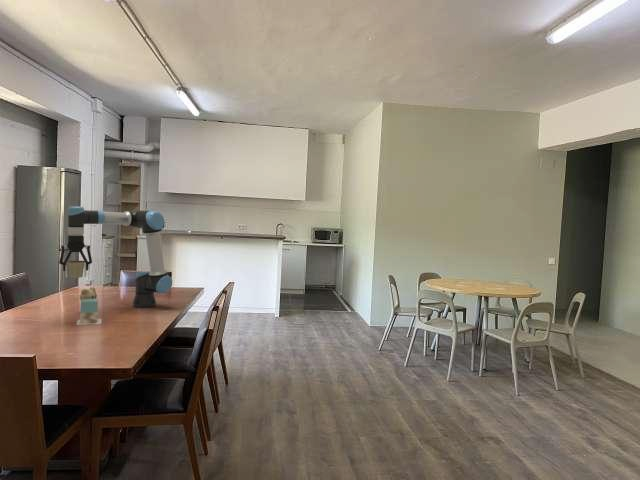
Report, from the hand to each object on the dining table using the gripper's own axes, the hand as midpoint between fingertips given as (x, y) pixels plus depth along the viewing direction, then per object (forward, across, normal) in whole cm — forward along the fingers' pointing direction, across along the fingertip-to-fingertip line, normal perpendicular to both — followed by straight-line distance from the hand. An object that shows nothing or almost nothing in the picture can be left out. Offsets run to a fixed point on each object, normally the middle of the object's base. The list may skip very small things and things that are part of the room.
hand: (76, 276), depth 241 cm
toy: (+27, -4, -32) cm, 42 cm away
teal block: (+19, -6, 0) cm, 20 cm away
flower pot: (0, 0, 0) cm, 1 cm away
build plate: (+26, -6, 0) cm, 27 cm away
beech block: (+25, -6, 0) cm, 26 cm away
